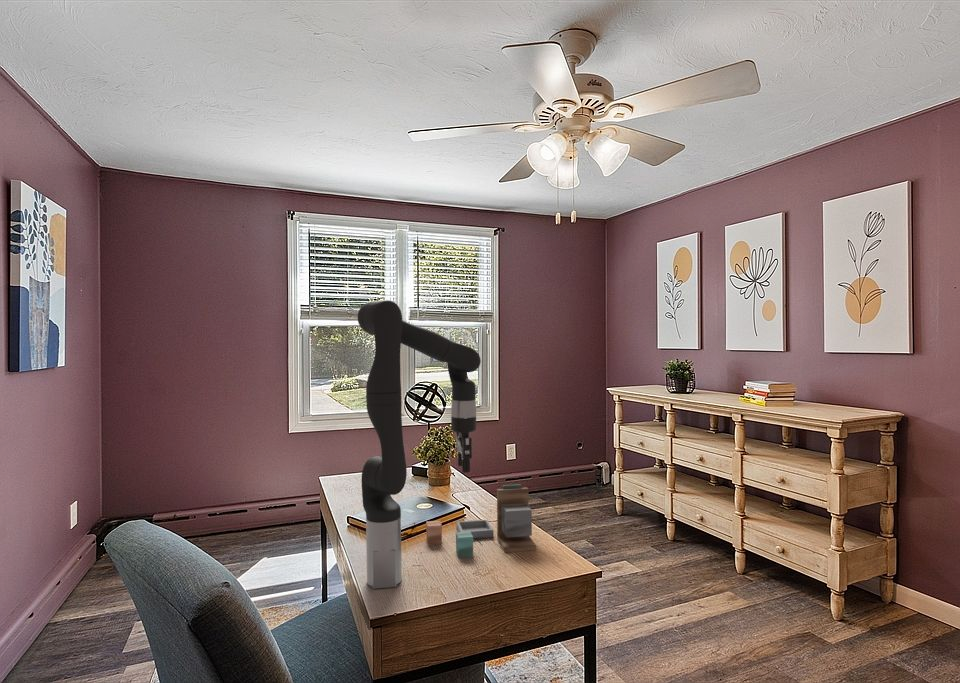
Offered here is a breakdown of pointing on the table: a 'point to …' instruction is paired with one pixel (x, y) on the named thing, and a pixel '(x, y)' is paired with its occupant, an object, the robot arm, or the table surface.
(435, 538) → the terracotta block
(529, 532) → the mounted unit
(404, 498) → the table surface
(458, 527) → the tray
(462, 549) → the teal block
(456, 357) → the robot arm
